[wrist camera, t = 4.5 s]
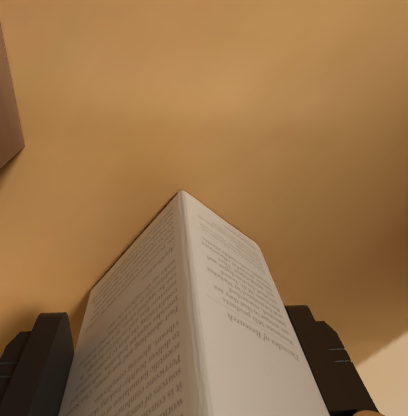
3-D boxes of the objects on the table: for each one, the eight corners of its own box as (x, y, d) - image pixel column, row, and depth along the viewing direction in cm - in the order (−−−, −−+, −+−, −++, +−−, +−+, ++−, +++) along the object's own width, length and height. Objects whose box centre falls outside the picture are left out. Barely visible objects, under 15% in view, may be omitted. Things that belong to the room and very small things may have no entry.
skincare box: (171, 331, 16) (177, 901, 6) (89, 287, 15) (-104, 961, 4) (265, 242, 15) (524, 844, 4) (183, 182, 13) (253, 912, 2)
